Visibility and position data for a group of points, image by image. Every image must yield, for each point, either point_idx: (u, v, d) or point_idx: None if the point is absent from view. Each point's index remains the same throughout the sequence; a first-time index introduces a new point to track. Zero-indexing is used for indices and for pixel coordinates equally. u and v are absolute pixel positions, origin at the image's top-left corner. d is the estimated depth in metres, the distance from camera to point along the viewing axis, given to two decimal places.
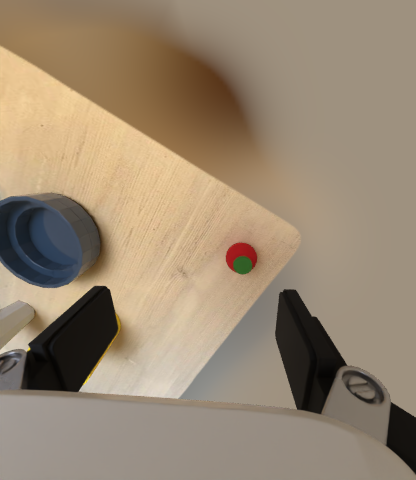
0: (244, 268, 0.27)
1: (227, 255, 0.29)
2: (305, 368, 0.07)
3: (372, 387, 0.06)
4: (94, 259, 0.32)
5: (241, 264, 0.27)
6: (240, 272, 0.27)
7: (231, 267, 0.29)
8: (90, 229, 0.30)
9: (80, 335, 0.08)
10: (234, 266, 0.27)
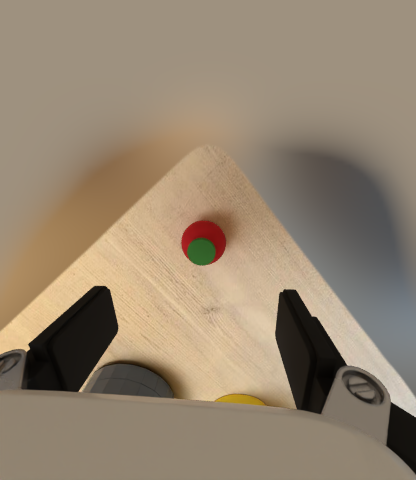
0: (205, 251, 0.18)
1: None
2: (305, 368, 0.07)
3: (372, 387, 0.06)
4: (159, 384, 0.29)
5: (197, 253, 0.18)
6: (210, 259, 0.18)
7: None
8: (124, 374, 0.28)
9: (80, 335, 0.08)
10: (198, 263, 0.18)
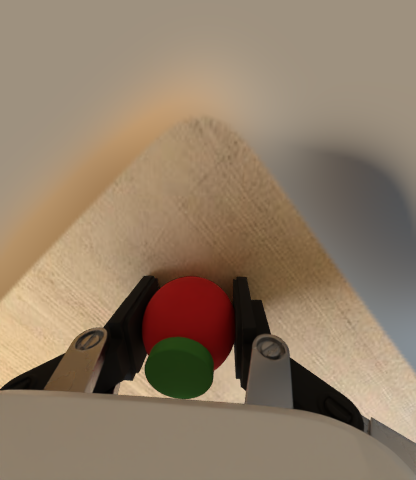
0: (189, 374, 0.07)
1: None
2: (236, 338, 0.08)
3: (277, 345, 0.07)
4: None
5: (170, 377, 0.07)
6: (200, 388, 0.07)
7: None
8: None
9: (141, 318, 0.09)
10: (172, 395, 0.08)
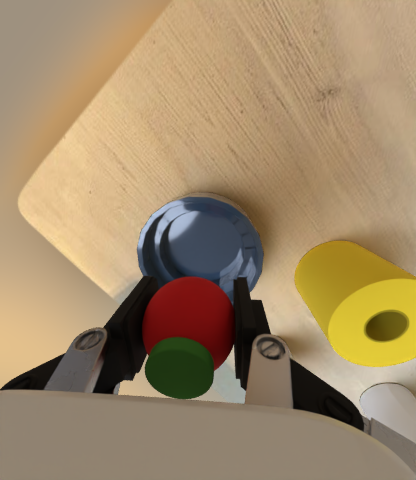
0: (189, 375, 0.07)
1: None
2: (236, 338, 0.08)
3: (277, 345, 0.07)
4: (247, 215, 0.23)
5: (170, 377, 0.07)
6: (201, 389, 0.07)
7: None
8: (207, 193, 0.22)
9: (141, 318, 0.09)
10: (172, 395, 0.08)
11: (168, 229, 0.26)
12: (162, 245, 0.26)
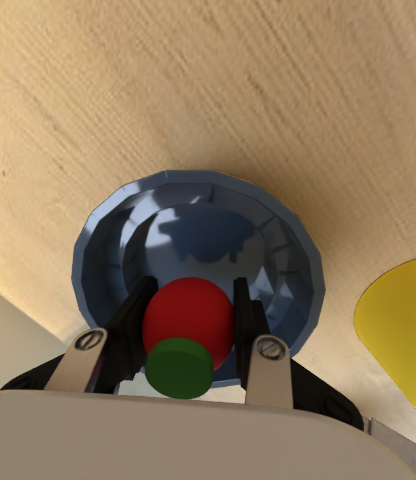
0: (189, 375, 0.07)
1: None
2: (236, 338, 0.08)
3: (277, 345, 0.07)
4: None
5: (170, 377, 0.07)
6: (200, 389, 0.07)
7: None
8: None
9: (141, 318, 0.09)
10: (172, 395, 0.08)
11: (141, 237, 0.15)
12: (130, 265, 0.15)
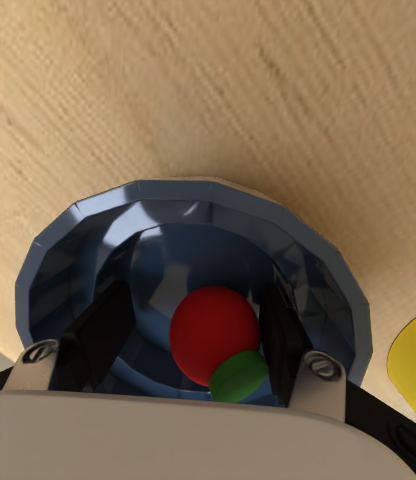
0: (252, 379, 0.08)
1: None
2: (277, 353, 0.07)
3: (331, 365, 0.06)
4: None
5: (236, 389, 0.08)
6: (258, 384, 0.08)
7: None
8: (206, 177, 0.08)
9: (105, 326, 0.09)
10: (234, 402, 0.08)
11: (121, 260, 0.12)
12: None
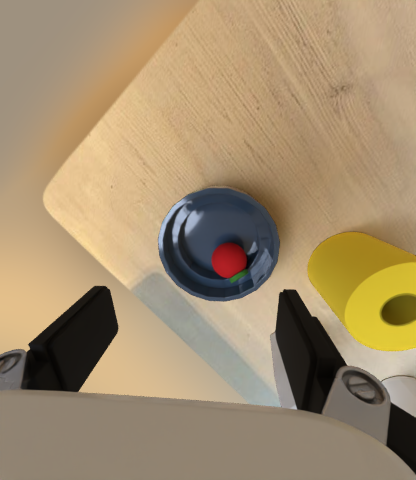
0: (243, 276, 0.25)
1: None
2: (305, 368, 0.07)
3: (372, 387, 0.06)
4: None
5: None
6: (244, 275, 0.26)
7: None
8: (224, 186, 0.24)
9: (80, 335, 0.08)
10: None
11: (185, 222, 0.27)
12: (180, 237, 0.27)
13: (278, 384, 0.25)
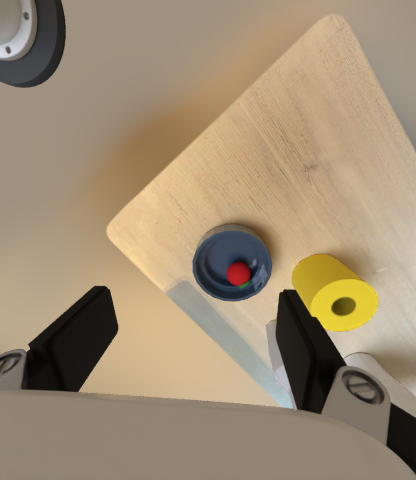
0: None
1: None
2: (305, 368, 0.07)
3: (372, 387, 0.06)
4: (261, 239, 0.37)
5: None
6: None
7: None
8: (236, 226, 0.36)
9: (80, 335, 0.08)
10: None
11: None
12: (204, 257, 0.39)
13: (271, 355, 0.37)
